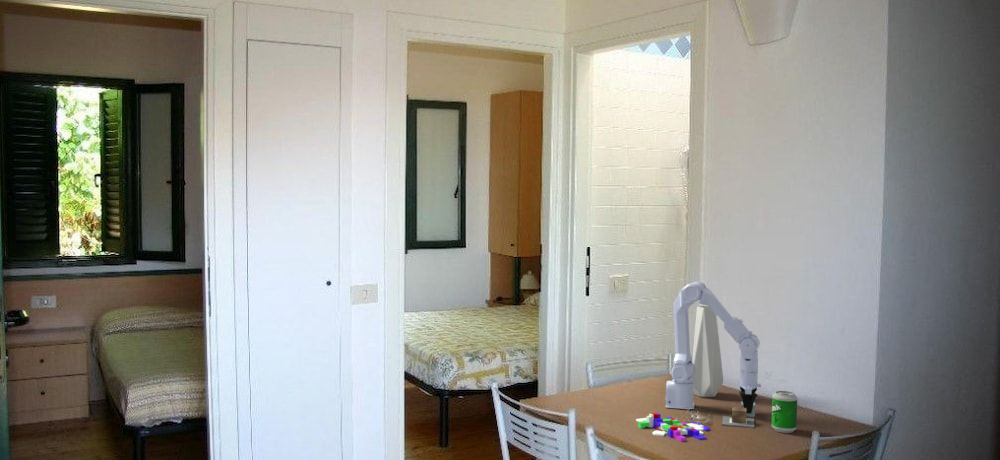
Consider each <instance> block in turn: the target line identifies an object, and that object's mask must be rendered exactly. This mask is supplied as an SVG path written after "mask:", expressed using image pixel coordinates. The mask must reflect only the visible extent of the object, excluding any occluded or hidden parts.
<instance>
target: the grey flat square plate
mask: <svg viewBox="0 0 1000 460" xmlns="http://www.w3.org/2000/svg"><path fill="white" fill-rule="evenodd" d="M721 426H727V427H728V426H729V427H740V428H751V429H752V428H753V429H755V418H754V417H746V424H743V423H732V416H727V415H722V422H721Z"/></svg>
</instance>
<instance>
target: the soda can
mask: <svg viewBox="0 0 1000 460" xmlns="http://www.w3.org/2000/svg"><path fill="white" fill-rule="evenodd" d="M771 401H772V402H771V428H772V429H773V430H774V431H775V432H778V433H780V434H781V433H782V434H791V433H792V434H793V433H794V431H796V430H797V426H798V425H797V423H798V422H797V421H798V396H797V395H796V393H795V392H793V391H788V390H787V391H786V390H776V391H775V392H774V393H773V394H772V399H771Z"/></svg>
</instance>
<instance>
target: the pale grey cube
mask: <svg viewBox="0 0 1000 460" xmlns="http://www.w3.org/2000/svg"><path fill="white" fill-rule="evenodd" d="M740 408H744V406H743V401H741V402H740ZM755 417H756V402H755V401H754V403H753V408H752V412H751V414H749V413H746V418H755Z"/></svg>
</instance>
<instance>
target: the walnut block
mask: <svg viewBox="0 0 1000 460" xmlns="http://www.w3.org/2000/svg"><path fill="white" fill-rule="evenodd" d="M731 417H732V423H743V424H746V418H747V416H746V408H741V407H737V406H736V407H735V406H734V407H733V406H732V407H731Z"/></svg>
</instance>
